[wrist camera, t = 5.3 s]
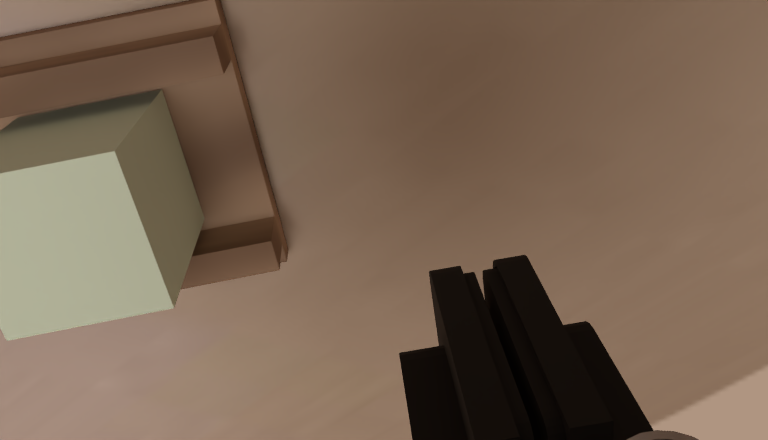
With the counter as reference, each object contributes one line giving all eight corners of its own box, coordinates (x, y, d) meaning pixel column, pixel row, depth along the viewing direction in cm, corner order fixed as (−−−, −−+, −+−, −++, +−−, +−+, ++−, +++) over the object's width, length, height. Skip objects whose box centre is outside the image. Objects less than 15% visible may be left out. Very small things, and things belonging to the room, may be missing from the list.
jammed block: (17, 117, 23) (-74, 187, 18) (161, 89, 23) (114, 150, 18) (72, 244, 25) (7, 340, 20) (204, 218, 25) (173, 308, 20)
